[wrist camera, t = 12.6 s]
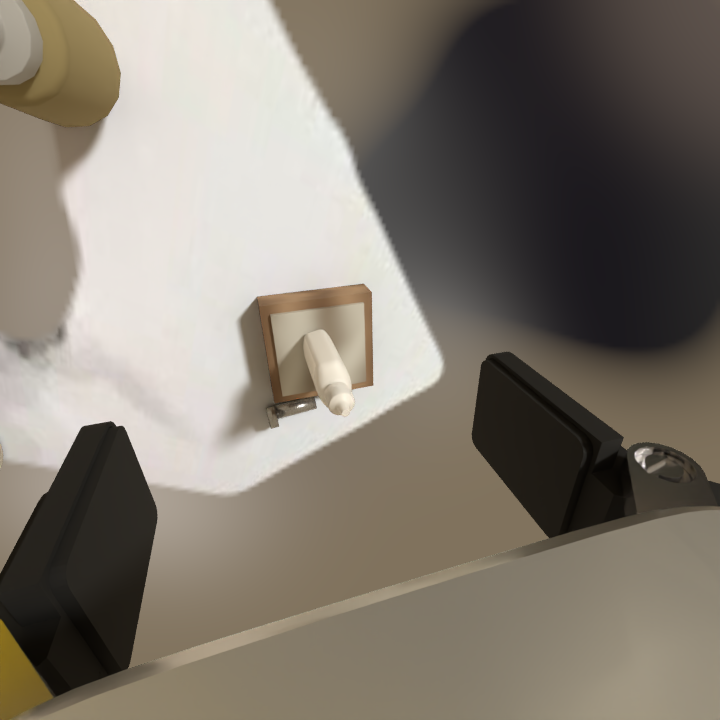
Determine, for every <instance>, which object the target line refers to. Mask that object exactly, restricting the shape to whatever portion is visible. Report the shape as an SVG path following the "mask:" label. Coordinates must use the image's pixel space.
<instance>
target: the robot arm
mask: <svg viewBox="0 0 720 720" xmlns="http://www.w3.org/2000/svg"><path fill="white" fill-rule="evenodd" d="M623 438H624V437H623V436H621V435H620V434H619V433H617V432H616V431H615V430H613V429H612V428H611V427H609V426H608V425H607V424H605V423H604V422H603V421H601V420H600V419H599V418H597V417H596V416H595V415H593V414H592V413H591V412H589V411H588V410H587V409H585V408H584V407H583V406H581V405H580V404H579V403H577V402H576V401H575V400H573V399H572V398H571V397H569V396H568V395H567V394H565V393H564V392H563V391H562V390H560V389H559V388H558V387H556V386H555V385H553V384H552V383H551V382H550V381H548V380H547V379H546V378H544V377H543V376H541V375H540V374H539V373H538V372H536V371H535V370H533V369H532V368H531V367H530V366H528V365H527V364H526V363H524V362H523V361H522V360H520V359H519V358H518V357H516V356H515V355H514V354H512V353H510V352H502V353H496V354H491V355H489V356H487V358H486V360H485V361H483V362H482V364H481V370H480V378H479V385H478V393H477V400H476V407H475V415H474V422H473V430H472V440H473V443H474V445H475V447H476V448H477V449H478V451H479V452H480V453H481V454H482V456H483V457H484V458H485V459H486V460H487V462H488V463H489V464H490V466H491V467H492V468H493V469H494V470H495V472H496V473H497V474H498V475H499V477H500V478H501V479H502V480H503V482H504V483H505V484H506V485H507V487H508V488H509V489H510V490H511V492H512V493H513V494H514V495H515V497H516V498H517V499H518V500H519V502H520V503H521V504H522V505H523V507H524V508H525V509H526V510H527V512H528V513H529V514H530V515H531V517H532V518H533V519H534V520H535V522H536V523H537V524H538V525H539V527H540V528H541V529H542V530H543V531H544V533H545V534H546V535H547V536H548V537H549V539H546V540H542V541H539V542H536V543H532V544H529V545H526V546H522V547H519V548H516V549H512V550H509V551H505V552H503V553H499V554H496V555H492V556H489V557H485V558H482V559H479V560H475V561H472V562H469V563H465V564H462V565H459V566H455V567H452V568H449V569H446V570H442V571H439V572H436V573H432V574H429V575H426V576H422V577H419V578H416V579H413V580H410V581H406V582H403V583H400V584H397V585H393V586H390V587H386V588H383V589H380V590H376V591H373V592H370V593H367V594H363V595H360V596H357V597H354V598H350V599H347V600H344V601H340V602H337V603H334V604H331V605H327V606H324V607H321V608H318V609H315V610H312V611H308V612H305V613H302V614H298V615H295V616H292V617H289V618H286V619H282V620H279V621H276V622H273V623H269V624H266V625H263V626H260V627H256V628H253V629H250V630H247V631H244V632H240V633H237V634H234V635H231V636H227V637H224V638H221V639H218V640H215V641H212V642H209V643H206V644H203V645H199V646H197V647H193V648H190V649H187V650H184V651H181V652H178V653H175V654H172V655H169V656H166V657H163V658H160V659H157V660H154V661H151V662H147V663H144V664H141V665H138V666H135V667H132V668H129V669H128V667H129V664H130V660H131V655H132V650H133V644H134V639H135V634H136V629H137V624H138V619H139V613H140V608H141V603H142V597H143V592H144V587H145V582H146V577H147V571H148V566H149V560H150V555H151V550H152V545H153V539H154V535H155V529H156V524H157V509H156V505H155V502H154V500H153V497H152V495H151V492H150V490H149V487H148V485H147V482H146V480H145V477H144V475H143V472H142V470H141V467H140V465H139V462H138V460H137V457H136V455H135V452H134V450H133V447H132V445H131V442H130V440H129V437H128V435H127V432H126V430H125V428H124V427H123V426H117V427H116V425H115V424H114V423H113V422H111V421H110V422H104V423H99V424H93V425H87V426H84V427H82V428H81V429H80V431H79V433H78V435H77V437H76V439H75V441H74V443H73V445H72V447H71V449H70V451H69V452H68V454H67V456H66V458H65V460H64V462H63V464H62V466H61V468H60V470H59V472H58V474H57V476H56V478H55V480H54V482H53V483H52V485H51V487H50V489H49V491H48V492H47V493H45V494H44V495H43V496H42V497H41V499H40V500H39V502H38V503H37V506H36V507H35V509H34V511H33V513H32V515H31V517H30V519H29V520H28V522H27V524H26V526H25V528H24V530H23V532H22V534H21V536H20V538H19V539H18V541H17V543H16V545H15V547H14V549H13V551H12V553H11V554H10V556H9V558H8V560H7V562H6V564H5V566H4V568H3V570H2V572H1V573H0V720H720V484H718V483H715V482H711V481H708V480H707V477H706V475H705V472H704V471H703V469H702V468H701V466H700V465H699V464H698V463H696V461H694V460H693V459H692V458H691V457H689V456H687V455H686V454H684V453H683V452H681V451H678V450H676V449H674V448H672V447H669V446H665V445H662V444H658V443H650V442H642V443H636V444H633V445H631V446H630V447H629V449H627V450H626V449H624V448H623V447H622V446H621V443H622V441H623ZM2 464H3V451H2V446H1V444H0V469H1V466H2Z"/></svg>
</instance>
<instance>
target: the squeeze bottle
mask: <svg viewBox="0 0 720 720" xmlns="http://www.w3.org/2000/svg"><path fill="white" fill-rule="evenodd" d="M120 76H121V73H120V69H119V66H118V62H117V59H116V55H115V51H114V48H113V45H112V44H111V42H110V41H109V39H108V38H107V36H106V35H105V33H104V32H103V30H102V28H101V27H100V25H99V24H98V22H97V21H96V19H94V18H93V17H92V16H91V15H90V14H89V13H88V12H86V11H85V10H84V9H83V8H82V7H81V6H80V5H78V4H77V3H76V2H75V1H74V0H0V103H1V104H4V105H6V106H9V107H11V108H14V109H16V110H19V111H22V112H24V113H26V114H29V115H32V116H34V117H37V118H39V119H42V120H45V121H48V122H51V123H54V124H57V125H60V126H63V127H82V126H90V125H92V124H94V123H96V122H98V121H99V120H101V119H103V118H105V117H106V116H108V114H109V113H110V111H111V109H112V108H113V106H114V104H115V103H116V101H117V99H118V98H119V88H120Z"/></svg>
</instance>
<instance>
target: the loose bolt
mask: <svg viewBox="0 0 720 720" xmlns="http://www.w3.org/2000/svg"><path fill="white" fill-rule="evenodd" d="M313 409H317V407H316V402H315V398H314V396H312V397H308V398H304V399H301V400H297V401H293V402H289V403H285V404H281V405H277V406H273V407H269V408H266V411H267V415H268V420H269V424H270V427H271V429H272V428H276V427H279V424H278V418H282V417H286V416H290V415H294V414H297V413H301V412H305V411H309V410H313Z"/></svg>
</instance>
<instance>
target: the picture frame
mask: <svg viewBox="0 0 720 720" xmlns="http://www.w3.org/2000/svg"><path fill="white" fill-rule="evenodd" d="M257 299H258V305H259V311H260V317H261V323H262V329H263V336H264V342H265V348H266V354H267V360H268V366H269V372H270V378H271V385H272V391H273V396H274V402H275V403H280V402H285V401H291V400H296V399H302V398H307V397H312V396H318V393H317V391H316V388H315V385H314V382H313V379H312V377H311V374H310V371H309V368H308V365H307V362H306V359H305V356H304V350H303V342H304V336H305V335H306V334H307V333H310V332H313V331H316V330H324V331H325V332H326V333H327V334H328V335H329V337H330V338H331V340H332V342H333V344H334V346H335V348H336V350H337V352H338V354H339V356H340V357H341V359H342V361H343V363H344V365H345V367H346V369H347V371H348V374H349V376H350V380H351V385H352V389H356V388H362V387H367V386H373V343H372V292H371V291H370V290H369V289H368V288H367V287H366V286H365V285H364V284H358V285H350V286H342V287H334V288H326V289H317V290H309V291H301V292H293V293H284V294H276V295H268V296H260V297H257Z"/></svg>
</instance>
